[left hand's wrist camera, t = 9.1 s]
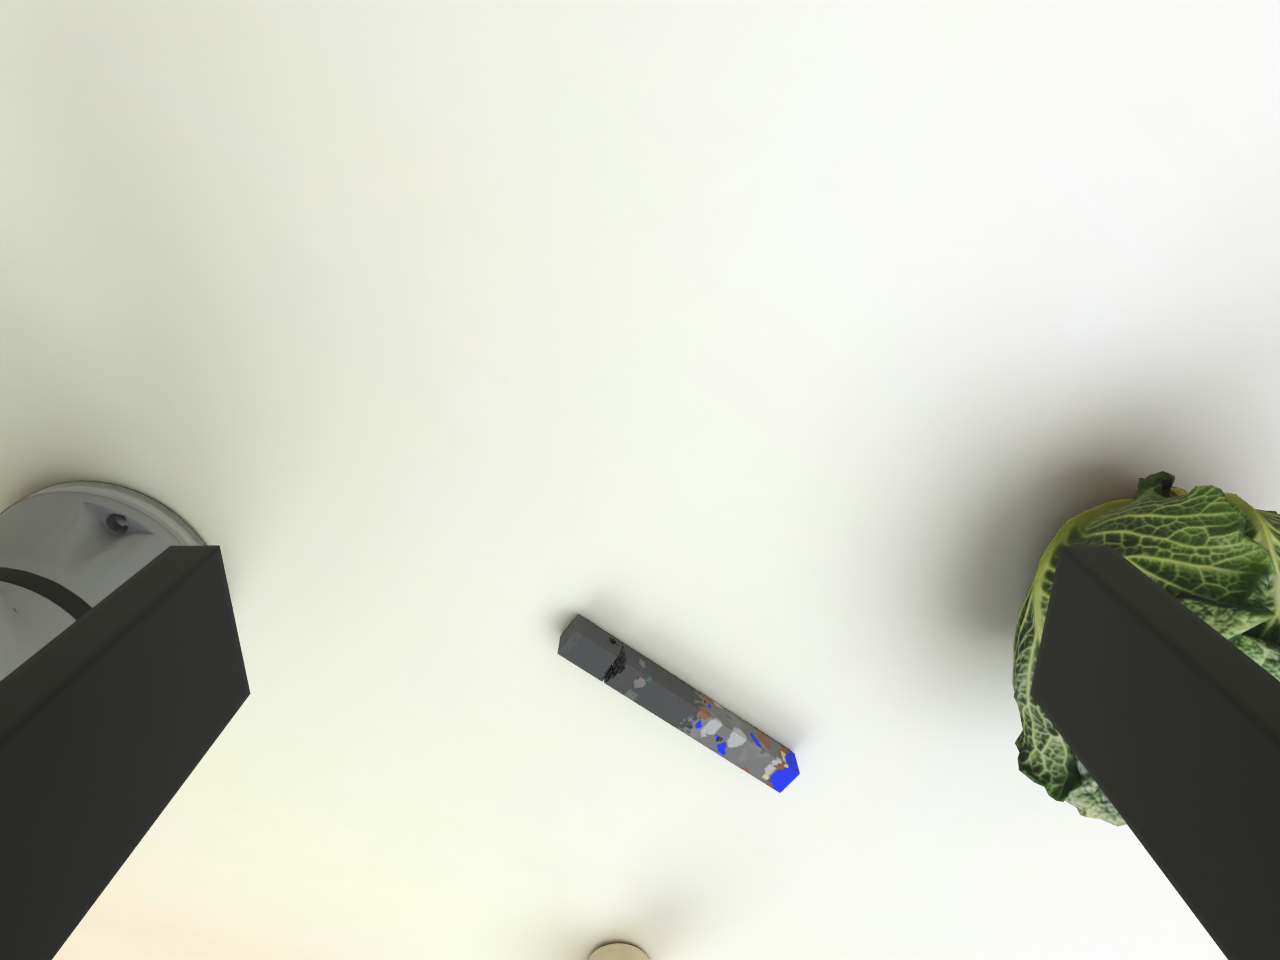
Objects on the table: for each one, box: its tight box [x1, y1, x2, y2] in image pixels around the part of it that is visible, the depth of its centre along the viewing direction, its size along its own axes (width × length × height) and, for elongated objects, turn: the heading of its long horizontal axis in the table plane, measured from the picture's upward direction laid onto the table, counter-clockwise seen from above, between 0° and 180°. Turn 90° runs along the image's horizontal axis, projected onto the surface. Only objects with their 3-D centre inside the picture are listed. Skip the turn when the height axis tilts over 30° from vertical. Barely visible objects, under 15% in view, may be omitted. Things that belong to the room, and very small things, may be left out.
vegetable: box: [1012, 471, 1280, 826], centre depth 46 cm, size 20×19×20 cm
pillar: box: [558, 614, 800, 793], centre depth 57 cm, size 2×2×20 cm
